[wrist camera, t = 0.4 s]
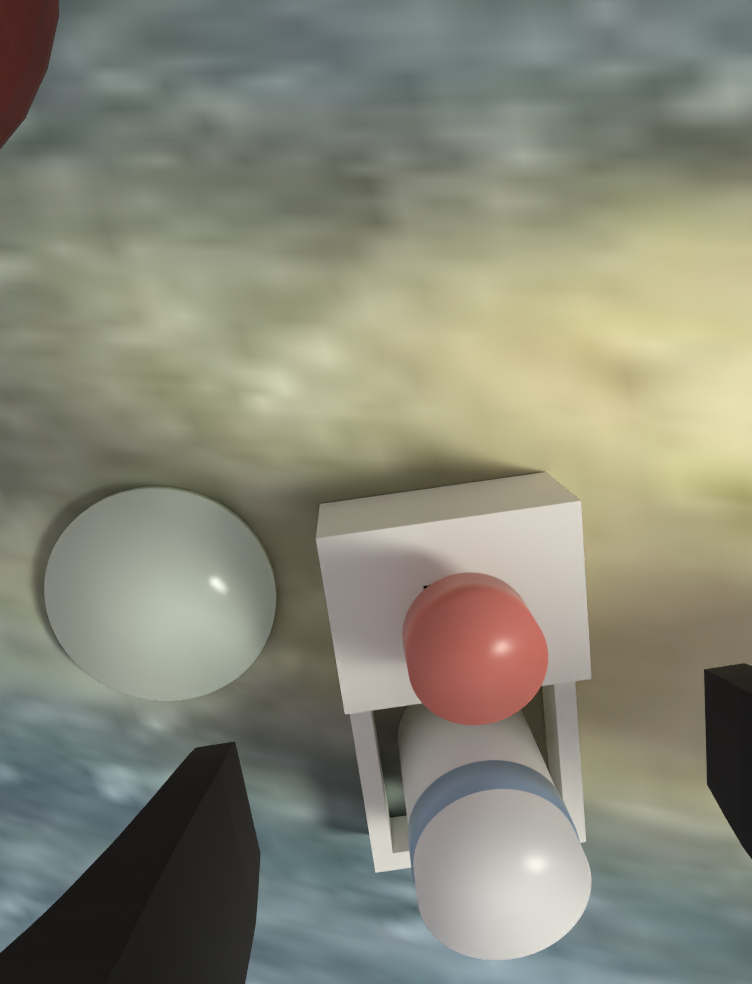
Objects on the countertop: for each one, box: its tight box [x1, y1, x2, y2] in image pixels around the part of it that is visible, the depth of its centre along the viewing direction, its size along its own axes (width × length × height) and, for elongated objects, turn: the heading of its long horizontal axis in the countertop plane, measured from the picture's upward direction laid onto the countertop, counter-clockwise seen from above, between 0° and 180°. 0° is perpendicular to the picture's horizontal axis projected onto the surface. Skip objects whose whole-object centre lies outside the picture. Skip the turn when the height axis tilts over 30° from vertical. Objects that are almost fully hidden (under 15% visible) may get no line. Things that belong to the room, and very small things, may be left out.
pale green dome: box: [44, 486, 277, 701], centre depth 20 cm, size 6×6×1 cm
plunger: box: [402, 572, 548, 725], centre depth 17 cm, size 3×3×4 cm
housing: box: [316, 472, 592, 872], centre depth 20 cm, size 11×6×3 cm, turn 8°
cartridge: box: [398, 703, 591, 960], centre depth 19 cm, size 4×4×6 cm
